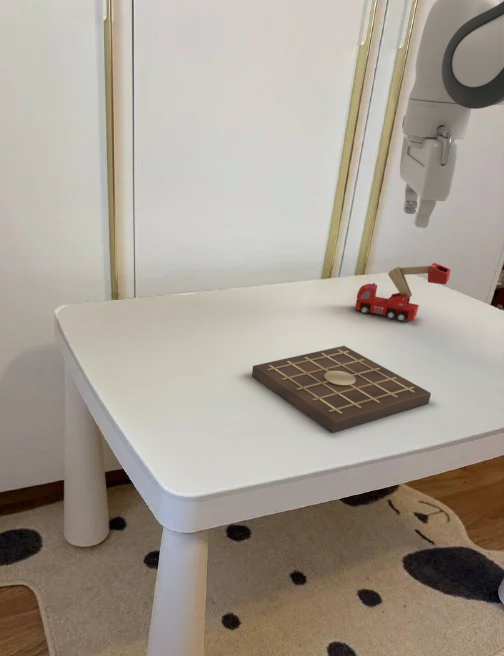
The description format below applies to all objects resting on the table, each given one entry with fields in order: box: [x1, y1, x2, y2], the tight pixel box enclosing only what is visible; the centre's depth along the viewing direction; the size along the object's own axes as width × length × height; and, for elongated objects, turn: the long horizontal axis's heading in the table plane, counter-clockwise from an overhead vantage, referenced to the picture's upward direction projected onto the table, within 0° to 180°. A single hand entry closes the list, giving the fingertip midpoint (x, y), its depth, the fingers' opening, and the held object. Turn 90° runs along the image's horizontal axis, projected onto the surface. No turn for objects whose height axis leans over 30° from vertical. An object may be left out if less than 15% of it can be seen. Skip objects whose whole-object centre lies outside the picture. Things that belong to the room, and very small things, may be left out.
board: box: [251, 345, 432, 433], centre depth 81 cm, size 16×16×2 cm
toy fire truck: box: [354, 262, 451, 322], centre depth 104 cm, size 3×14×10 cm, turn 63°
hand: (414, 219), depth 98 cm, fingers open, 8 cm apart
